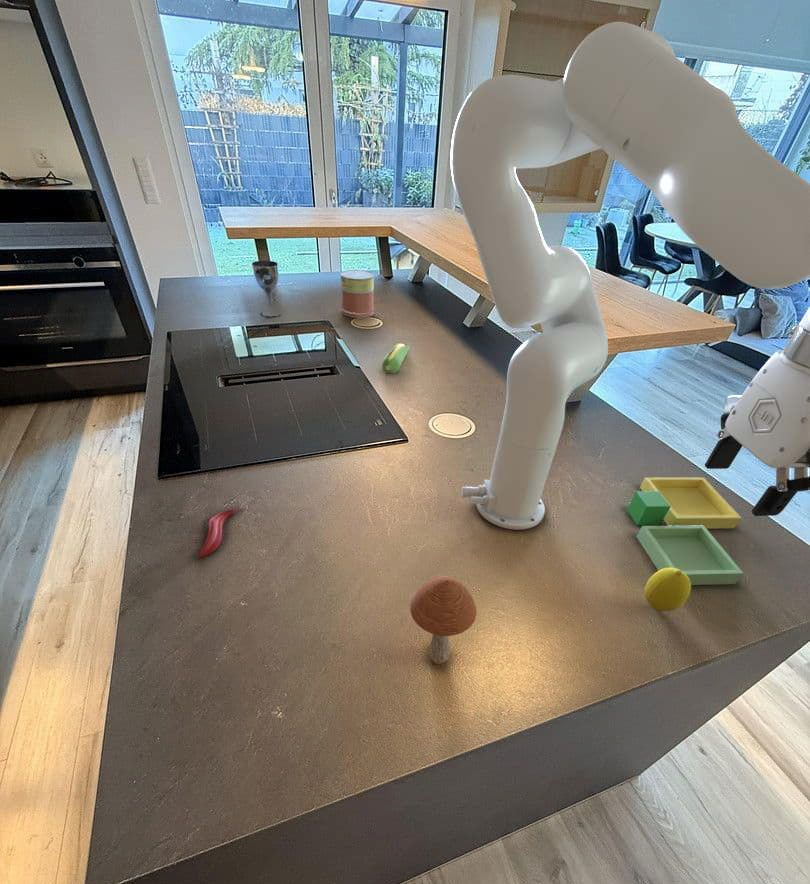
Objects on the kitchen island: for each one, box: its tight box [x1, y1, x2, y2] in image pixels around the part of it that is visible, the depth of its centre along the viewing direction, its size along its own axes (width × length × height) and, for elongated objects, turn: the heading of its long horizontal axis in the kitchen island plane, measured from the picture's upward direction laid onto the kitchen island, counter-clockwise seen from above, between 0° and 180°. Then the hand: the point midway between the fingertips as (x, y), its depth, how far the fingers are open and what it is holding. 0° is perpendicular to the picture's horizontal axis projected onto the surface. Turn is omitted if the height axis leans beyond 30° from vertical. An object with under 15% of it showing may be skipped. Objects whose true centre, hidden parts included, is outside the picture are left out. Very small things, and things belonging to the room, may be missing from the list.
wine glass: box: [251, 260, 279, 308], centre depth 152 cm, size 8×8×15 cm
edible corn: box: [381, 342, 411, 374], centre depth 131 cm, size 5×20×5 cm, turn 167°
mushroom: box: [409, 575, 477, 665], centre depth 57 cm, size 8×8×15 cm
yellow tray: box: [639, 477, 742, 530], centre depth 89 cm, size 13×13×3 cm
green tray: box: [636, 525, 744, 586], centre depth 78 cm, size 12×12×3 cm
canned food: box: [340, 269, 375, 319], centre depth 159 cm, size 11×11×12 cm
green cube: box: [626, 490, 671, 527], centre depth 85 cm, size 4×4×4 cm
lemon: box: [644, 568, 692, 612], centre depth 68 cm, size 6×6×8 cm
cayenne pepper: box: [197, 509, 236, 559], centre depth 76 cm, size 12×5×2 cm, turn 162°
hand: (738, 489), depth 58 cm, fingers open, 9 cm apart
